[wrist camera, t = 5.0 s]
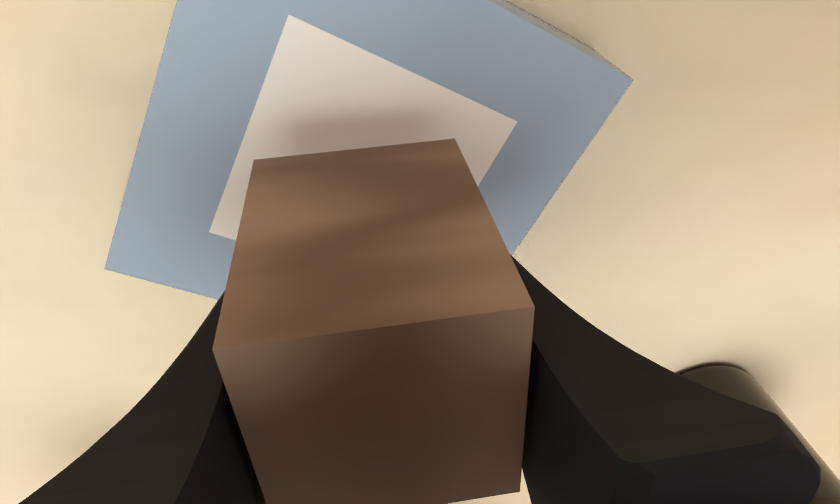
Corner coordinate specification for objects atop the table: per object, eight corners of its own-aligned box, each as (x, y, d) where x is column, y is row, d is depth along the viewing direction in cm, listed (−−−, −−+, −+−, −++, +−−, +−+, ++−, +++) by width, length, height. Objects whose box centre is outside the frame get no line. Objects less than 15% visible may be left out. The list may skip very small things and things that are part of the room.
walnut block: (454, 138, 13) (534, 306, 8) (457, 292, 16) (519, 491, 11) (253, 159, 13) (212, 349, 8) (290, 314, 15) (275, 530, 10)
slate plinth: (593, 49, 19) (633, 80, 17) (427, 308, 25) (439, 359, 22) (233, -152, 15) (216, -150, 12) (129, 217, 20) (104, 269, 18)
